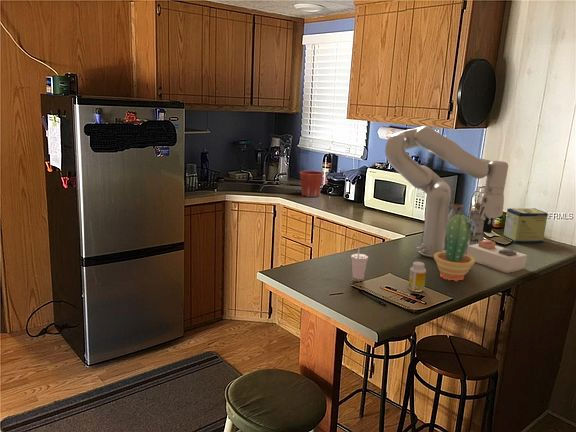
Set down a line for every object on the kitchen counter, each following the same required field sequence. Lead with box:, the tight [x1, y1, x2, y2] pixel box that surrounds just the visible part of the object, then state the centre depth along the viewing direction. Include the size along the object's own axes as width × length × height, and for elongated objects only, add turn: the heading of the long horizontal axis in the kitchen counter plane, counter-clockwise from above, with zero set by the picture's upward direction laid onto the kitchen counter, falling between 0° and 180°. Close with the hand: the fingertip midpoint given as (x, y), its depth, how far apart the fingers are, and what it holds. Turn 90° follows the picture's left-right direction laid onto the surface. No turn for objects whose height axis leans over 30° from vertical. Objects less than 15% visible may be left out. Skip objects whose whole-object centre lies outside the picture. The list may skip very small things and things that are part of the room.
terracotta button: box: [479, 239, 497, 250], centre depth 211 cm, size 5×5×6 cm
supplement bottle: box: [408, 261, 427, 291], centre depth 175 cm, size 6×6×10 cm
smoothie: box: [350, 244, 369, 279], centre depth 182 cm, size 6×6×14 cm
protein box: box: [503, 207, 549, 244], centre depth 243 cm, size 10×16×16 cm
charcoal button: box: [499, 247, 518, 256], centre depth 203 cm, size 5×5×6 cm
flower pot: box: [299, 170, 324, 198], centre depth 334 cm, size 16×16×16 cm
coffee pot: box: [447, 203, 464, 223], centre depth 257 cm, size 21×12×15 cm, turn 164°
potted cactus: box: [433, 214, 477, 282], centre depth 188 cm, size 15×15×25 cm
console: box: [466, 244, 528, 274], centre depth 208 cm, size 12×20×6 cm, turn 32°
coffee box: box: [466, 210, 485, 247], centre depth 232 cm, size 9×6×16 cm
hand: (486, 232), depth 210 cm, fingers closed
